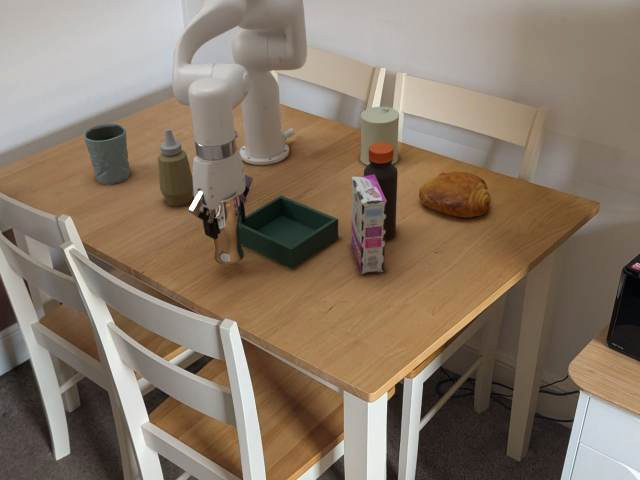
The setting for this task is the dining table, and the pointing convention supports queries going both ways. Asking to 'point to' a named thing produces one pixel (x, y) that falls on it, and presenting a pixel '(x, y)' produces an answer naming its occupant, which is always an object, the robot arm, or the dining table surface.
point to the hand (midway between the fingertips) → (225, 227)
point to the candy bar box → (368, 224)
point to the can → (379, 130)
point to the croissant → (456, 194)
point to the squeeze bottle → (174, 172)
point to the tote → (288, 231)
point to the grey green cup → (108, 152)
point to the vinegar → (385, 180)
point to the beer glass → (228, 231)
